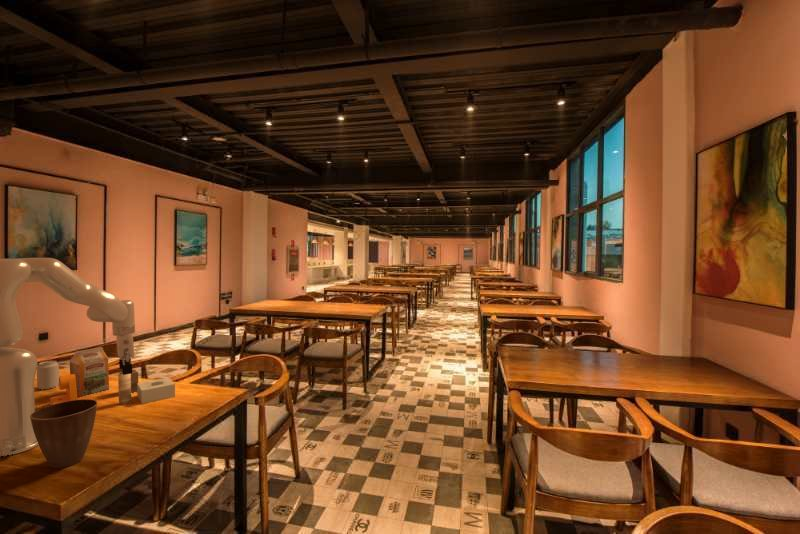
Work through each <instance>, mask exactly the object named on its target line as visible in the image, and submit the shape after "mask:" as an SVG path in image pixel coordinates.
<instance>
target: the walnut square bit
mask: <svg viewBox="0 0 800 534" xmlns="http://www.w3.org/2000/svg"><path fill="white" fill-rule="evenodd" d="M121 373H122V371H121V372H119V373H118V375H119V374H121ZM137 383H139V371H137V370H135V369H132V373H131V393H132V394H135V393H134V392H136V393H137Z"/></svg>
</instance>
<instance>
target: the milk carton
mask: <svg viewBox="0 0 800 534" xmlns="http://www.w3.org/2000/svg"><path fill="white" fill-rule="evenodd" d="M109 369H110V368H109V358H108V356H107V354H106V352H105V351H104V348H103V347H101V346H100V347H95V348H89V349H84V350H78V351H75V352H73V356H72V357H71V358H70V360H69V375H71V374H75V377H76V387H77V397H78V396H79V398H83V396H84V397H87V396H86V395H88V396H91V394H92V395H95V394H94V393H96V394H99V393H103V392H107V391H110V377H109V376H110V375H109ZM106 390H107V391H106ZM102 391H103V392H102ZM98 392H99V393H98Z"/></svg>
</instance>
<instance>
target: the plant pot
mask: <svg viewBox="0 0 800 534" xmlns="http://www.w3.org/2000/svg"><path fill="white" fill-rule="evenodd" d="M97 407H98V401H97V400H95V399H91V398H90V399H88V398H85V399H78V400H72V401H66V402H61V403H57V404H53V405H51V404H50V405H47V406H44V407H41V408H39V409H37V410H35V412H33V413H32V414H31V415H30V419H31V423H32V427H33V431H34V434H35V437H36V440H37V442H38V444H39V445H38V447H39V449H40V451H41V453H42V455H43V456H44V459H45V460H46V462H47V464H48V465H49V467H50V468H51V469H52V468H53V469H61V468H63V469H64V468H66V467H70V466H73V465H75V464H78V463H79V462H81V461H82V460H84V458H85V455H86V452H87V449H88V446H89V444H90V441H91V437H92V434H93V430H94V425H95V421H96V416H97Z"/></svg>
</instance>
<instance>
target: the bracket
mask: <svg viewBox="0 0 800 534" xmlns="http://www.w3.org/2000/svg"><path fill="white" fill-rule="evenodd" d="M58 387H59V390H60V391H61V390H65V394H62V395H58V396H53V397H50V399H49V403H50V405H53V404H57V403H61V402H66V401H72V400H79V398H78V396H77V387H76V377H75V374H71V375H70V374H66V375H62V376H60V375H59V385H58Z"/></svg>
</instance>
